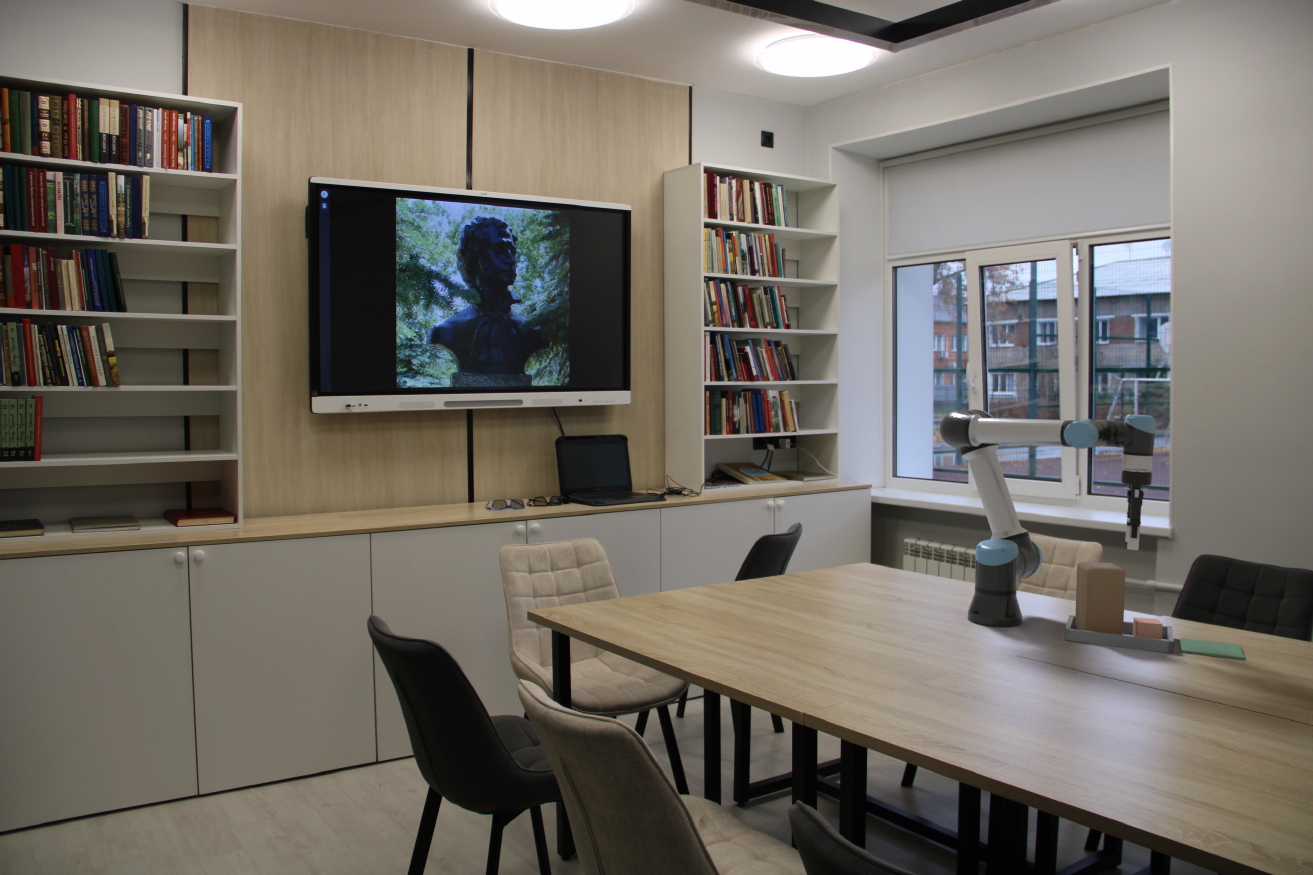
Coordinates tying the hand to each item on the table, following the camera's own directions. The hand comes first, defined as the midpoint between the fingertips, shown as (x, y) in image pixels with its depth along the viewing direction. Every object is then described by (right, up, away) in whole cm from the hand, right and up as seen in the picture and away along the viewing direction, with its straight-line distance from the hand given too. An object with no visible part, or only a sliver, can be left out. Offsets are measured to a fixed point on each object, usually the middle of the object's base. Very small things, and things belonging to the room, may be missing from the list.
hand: (1131, 545), depth 262 cm
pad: (+14, -26, -14) cm, 33 cm away
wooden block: (-10, -25, -1) cm, 27 cm away
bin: (-5, -25, -4) cm, 26 cm away
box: (+1, -26, -7) cm, 27 cm away
